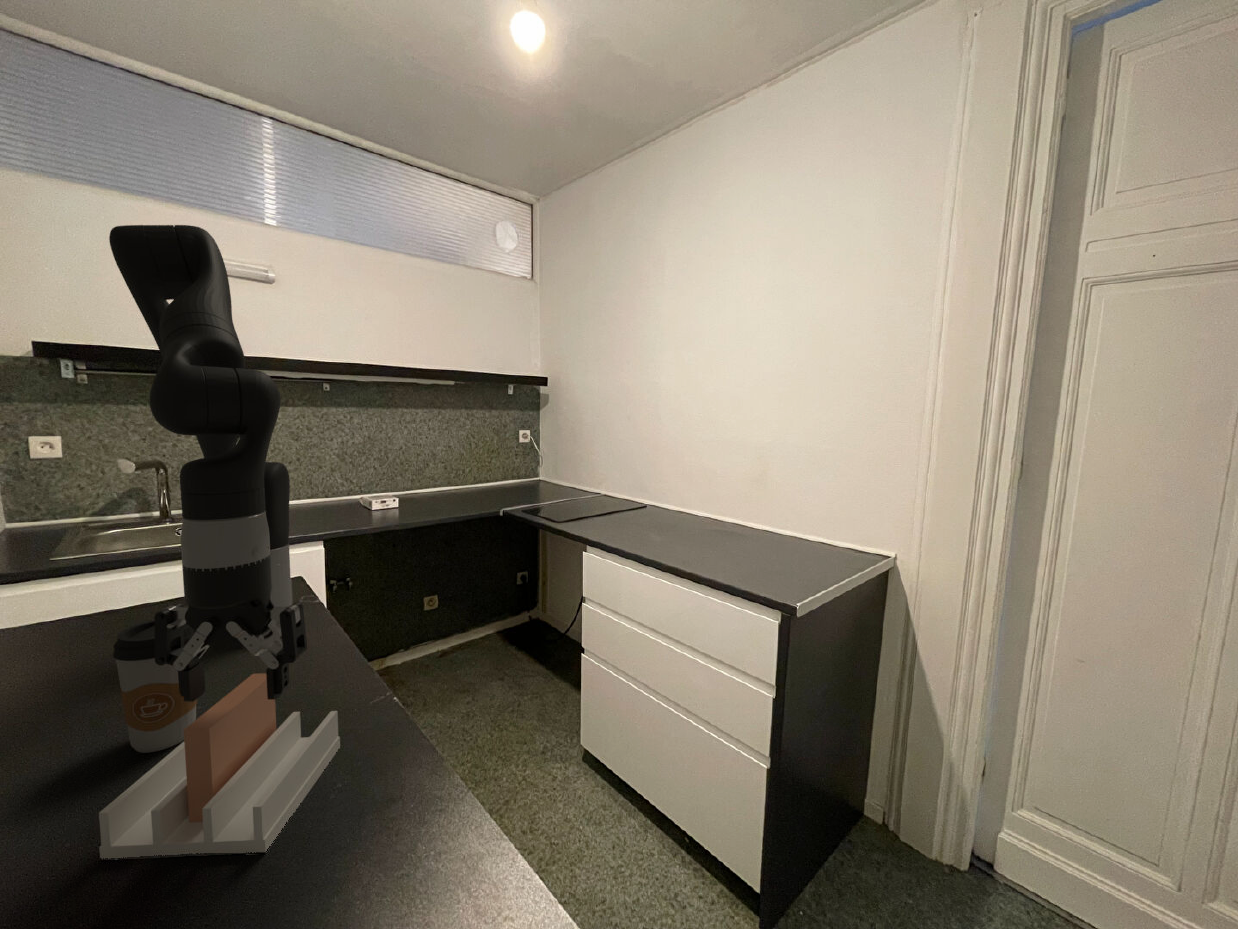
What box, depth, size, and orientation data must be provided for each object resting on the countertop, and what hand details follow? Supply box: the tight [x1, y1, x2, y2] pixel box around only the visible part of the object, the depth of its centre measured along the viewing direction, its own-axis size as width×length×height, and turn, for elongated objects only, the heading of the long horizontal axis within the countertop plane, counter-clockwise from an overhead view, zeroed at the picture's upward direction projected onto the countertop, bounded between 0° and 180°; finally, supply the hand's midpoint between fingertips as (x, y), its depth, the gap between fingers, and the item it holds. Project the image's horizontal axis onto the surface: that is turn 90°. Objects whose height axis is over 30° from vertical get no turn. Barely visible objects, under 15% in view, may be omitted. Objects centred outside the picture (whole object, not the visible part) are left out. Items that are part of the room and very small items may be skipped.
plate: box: [183, 672, 277, 822], centre depth 57 cm, size 11×2×10 cm, turn 5°
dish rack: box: [98, 710, 341, 859], centre depth 57 cm, size 16×15×5 cm
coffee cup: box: [112, 619, 198, 754], centre depth 66 cm, size 8×8×15 cm
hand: (235, 697), depth 56 cm, fingers open, 8 cm apart
